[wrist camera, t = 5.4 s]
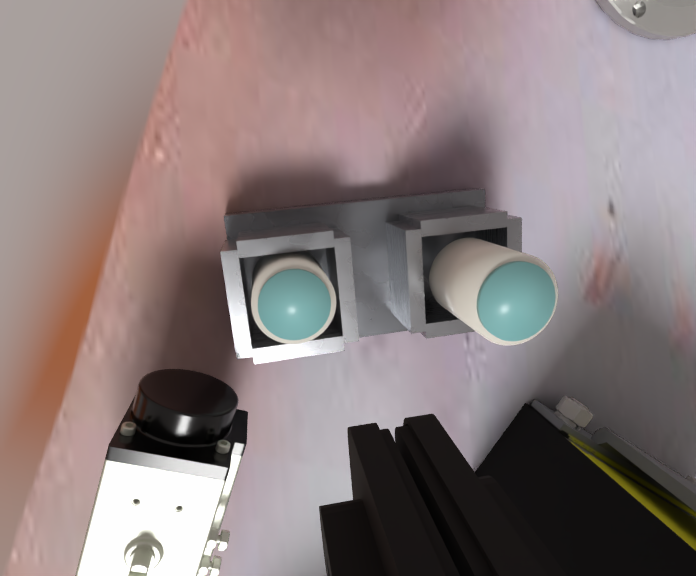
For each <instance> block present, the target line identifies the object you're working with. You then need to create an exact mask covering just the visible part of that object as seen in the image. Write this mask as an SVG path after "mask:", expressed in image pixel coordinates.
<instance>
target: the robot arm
mask: <svg viewBox="0 0 696 576" xmlns="http://www.w3.org/2000/svg"><path fill="white" fill-rule="evenodd" d="M596 1H597V3H598V4H599V5H600V7H601V8H602V10H603V11H604V12H605V13H606V14H607V15H608V16H609V17H610V18H611V19H612V20H613V21H614V22H615V23H616V24H617V25H619V26H621V27H622V28H624V29H626V30H627V31H629V32H631V33H632V34H635V35H638V36H642V37H645V38H648V39H659V40H670V39H676V38H681V37H686V36H689V35H692V34H695V33H696V0H596ZM348 445H349V456H350V468H351V480H352V492H353V500H351V501H345V502H340V503H334V504H329V505H323V506H319V511H320V522H321V531H322V541H323V549H324V557H325V565H326V573H327V576H567V574H566V573H565V572H564V570H563V569H562V568H561V566H560V565H559V564H558V562H557V561H556V560H555V558H554V557H553V556H552V554H551V553H550V552H549V550H548V549H547V548H546V546H545V545H544V544H543V542H542V541H541V540H540V538H539V537H538V536H537V534H536V533H535V532H534V530H533V529H532V528H531V526H530V525H529V524H528V522H527V521H526V520H525V518H524V517H523V516H522V514H521V513H520V512H519V510H518V509H517V508H516V506H515V505H514V504H513V502H512V501H511V500H510V498H509V497H508V496H507V494H506V493H505V492H504V490H503V489H502V488H501V486H500V485H499V484H498V482H497V481H496V480H495V479H494V478H493V477H491V476H483V477H477V475H476V474H475V472H474V471H473V469H472V468H471V467H470V465H469V464H468V462H467V461H466V459H465V458H464V457H463V455H462V454H461V452H460V451H459V449H458V448H457V447H456V445H455V444H454V442H453V441H452V439H451V438H450V437H449V435H448V434H447V432H446V431H445V429H444V428H443V427H442V425H441V424H440V422H439V421H438V419H437V418H436V416H435V415H434V414H428V415H421V416H415V417H409V418H405V419H404V423H403V426H401V427H396V428H395V441H394V439H393V437H392V435H391V433H390V431H389V429H382V430H380V429H379V427H378V425H377V423H371V424H365V425H359V426H352V427H348Z"/></svg>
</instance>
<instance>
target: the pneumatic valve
mask: <svg viewBox="0 0 696 576" xmlns="http://www.w3.org/2000/svg"><path fill="white" fill-rule="evenodd" d="M237 406H238V397H237V394H236V393H235V391H234V390H233V389H232V388H231V387H230V386H228V385H227V384H226V383H224V382H223V381H221V380H219V379H217V378H215V377H212V376H209V375H207V374H203V373H200V372H196V371H190V370H182V369H164V370H158V371H154V372H151V373H149V374H147V375H145V376H144V377H143V378H142V379H141V380H140V382H139V385H138V389H137V392H136V395H135V397H134V399H133V401H132V403H131V405H130V406H129V408H128V410H127V412H126V414H125V416H124V418H123V419H122V421H121V423H120V425H119V427H118V429H117V431H116V432H115V434H114V436H113V438H112V440H111V442H110V443H109V446H108V450H107V454H106V458H105V462H104V466H103V469H102V473H101V477H100V481H99V485H98V489H97V493H96V497H95V501H94V505H93V508H92V512H91V516H90V520H89V524H88V528H87V532H86V536H85V540H84V544H83V547H82V551H81V555H80V559H79V563H78V567H77V571H76V575H75V576H206V574H207V572H208V570H210V576H218V574H219V570H220V565H221V557H220V556H214V557H213V561H210V560H211V557H212V553H213V550H214V548H215V546H216V544H218V550H221V551H225V550H226V548H227V545H228V541H229V535H230V531H228V530H222V532H221V535H218V534H219V531H220V527H221V524H222V521H223V518H224V515H225V511H226V508H227V505H228V502H229V498H230V495H231V492H232V489H233V486H234V482H235V479H236V476H237V473H238V469H239V466H240V463H241V460H242V456H243V453H244V450H245V447H246V444H247V419H248V412H247V411H243V410H238V409H237Z"/></svg>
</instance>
